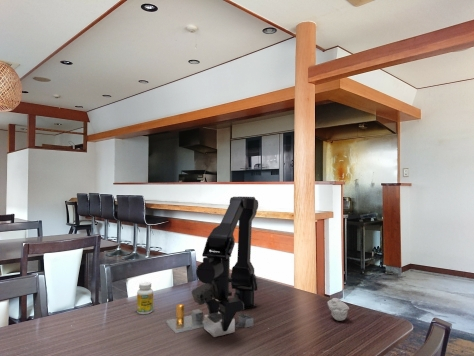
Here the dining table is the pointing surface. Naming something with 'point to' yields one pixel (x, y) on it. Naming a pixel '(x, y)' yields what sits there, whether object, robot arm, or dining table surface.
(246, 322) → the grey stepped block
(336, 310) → the grey stone carving
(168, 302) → the dining table surface
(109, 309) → the dining table surface
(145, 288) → the supplement bottle
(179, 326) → the peg stand
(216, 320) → the grey square frame
